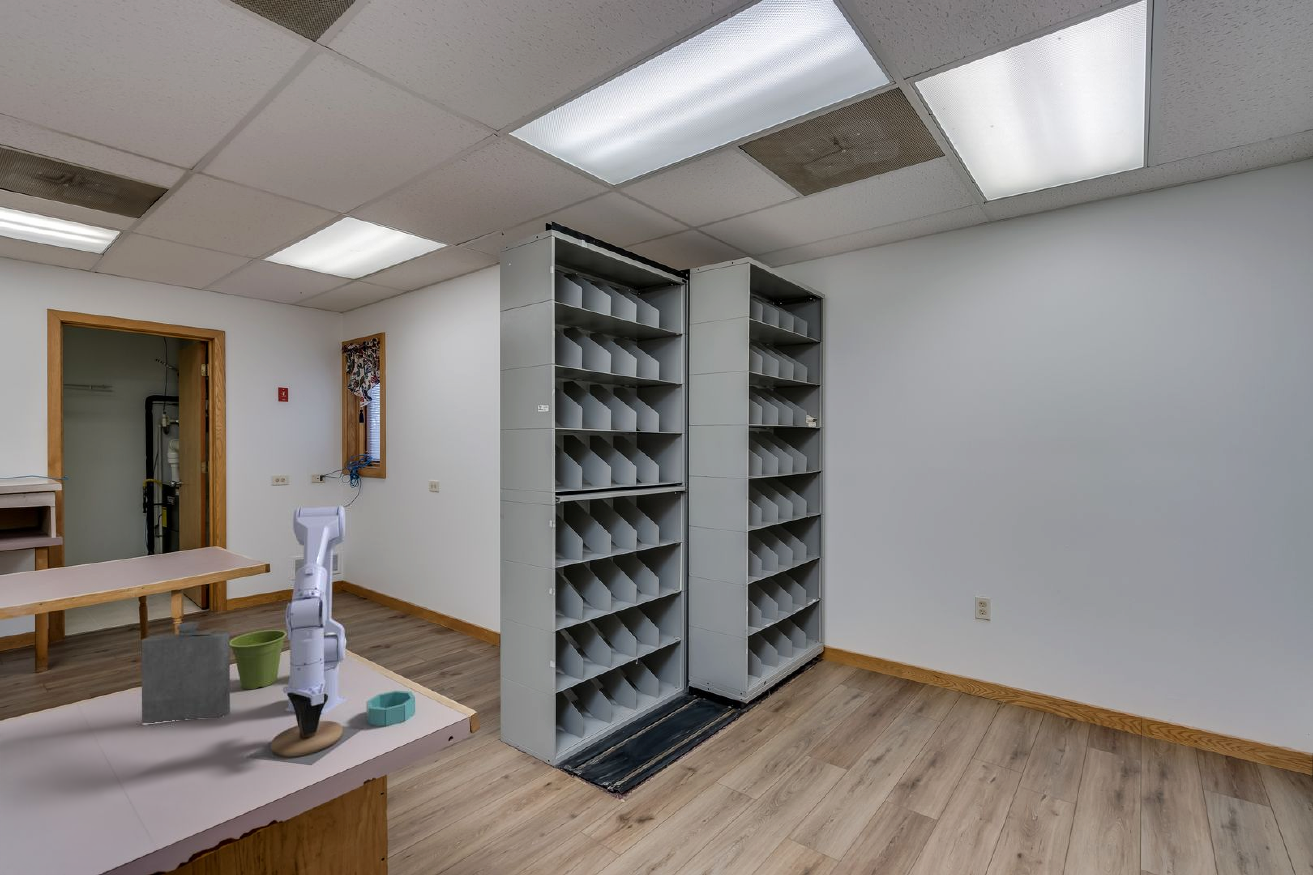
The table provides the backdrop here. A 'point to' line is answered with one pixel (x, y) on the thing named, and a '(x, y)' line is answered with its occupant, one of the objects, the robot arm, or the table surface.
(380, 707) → the bowl
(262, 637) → the plant pot
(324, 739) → the lid
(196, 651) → the hip flask
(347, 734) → the mat
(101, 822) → the table surface
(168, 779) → the table surface
